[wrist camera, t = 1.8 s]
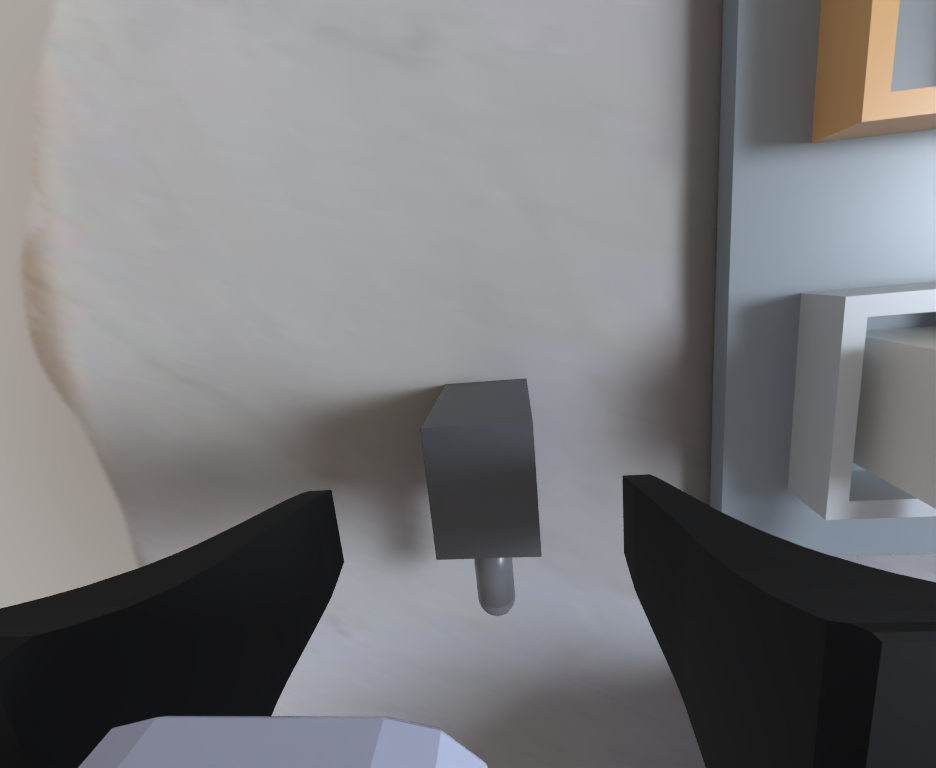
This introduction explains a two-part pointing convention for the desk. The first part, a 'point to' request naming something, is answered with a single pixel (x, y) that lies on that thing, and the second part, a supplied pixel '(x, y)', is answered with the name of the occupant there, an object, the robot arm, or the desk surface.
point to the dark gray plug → (483, 482)
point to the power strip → (827, 274)
